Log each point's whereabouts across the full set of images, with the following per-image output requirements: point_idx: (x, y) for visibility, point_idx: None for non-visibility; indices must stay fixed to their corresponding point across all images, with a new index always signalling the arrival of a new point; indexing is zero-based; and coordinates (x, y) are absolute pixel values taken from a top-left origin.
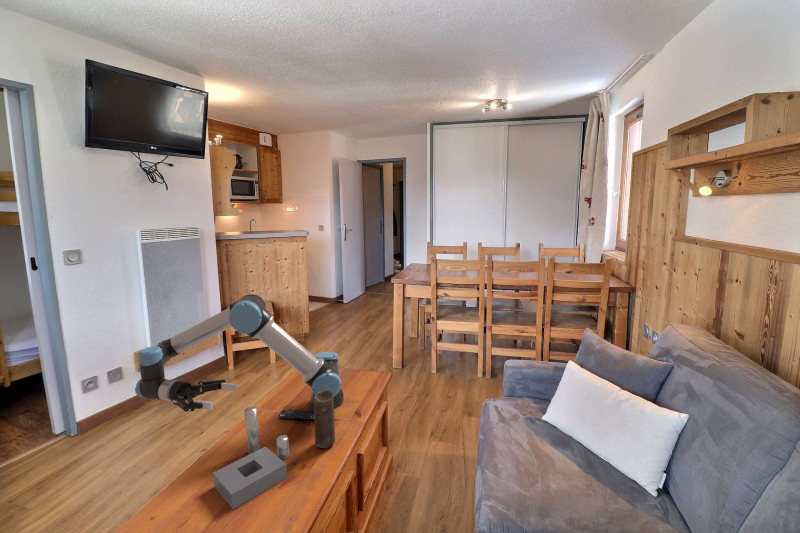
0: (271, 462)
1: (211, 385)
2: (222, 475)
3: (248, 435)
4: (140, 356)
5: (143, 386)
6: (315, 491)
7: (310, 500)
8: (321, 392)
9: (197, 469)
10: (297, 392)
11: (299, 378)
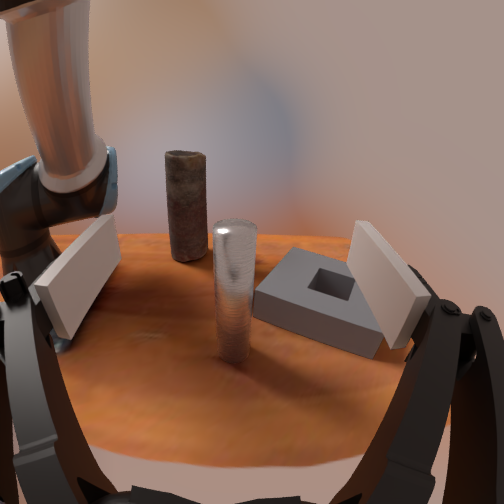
0: (300, 263)
1: (42, 366)
2: None
3: (251, 307)
4: None
5: None
6: (299, 241)
7: (315, 241)
8: (170, 154)
9: (349, 444)
10: None
11: None
